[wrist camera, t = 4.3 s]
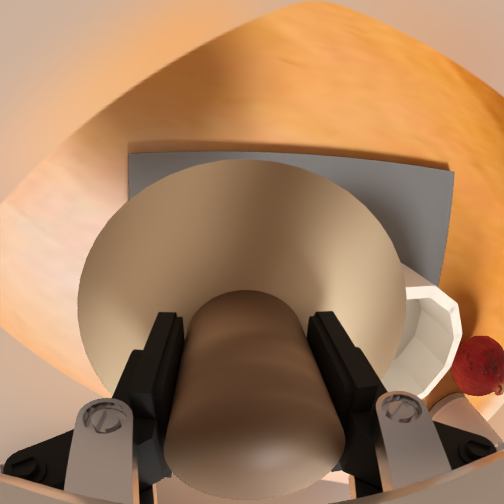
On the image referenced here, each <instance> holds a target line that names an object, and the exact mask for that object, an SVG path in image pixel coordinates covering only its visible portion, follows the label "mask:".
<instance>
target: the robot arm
mask: <svg viewBox="0 0 504 504" xmlns="http://www.w3.org/2000/svg"><path fill="white" fill-rule="evenodd" d="M307 340H308V343H309V345H310V348H311V350H312V353H313V355H314V358H315V360H316V363H317V365H318V368H319V370H320V372H321V375H322V377H323V380H324V382H325V385H326V387H327V390H328V393H329V395H330V398H331V400H332V403H333V405H334V408H335V410H336V413H337V415H338V418H339V420H340V423H341V425H342V428H343V431H344V434H345V448H344V452H343V454H342V456H341V458H340V460H339V461H338V463H337V464H336V465H335V467H334V468H333V469H332V470H331V472H334V471H340V470H342V471H344V472H346V473H348V474H349V487H350V498H351V500H347V501H341V502H337V503H331V504H504V444H503V443H497V444H496V446H494V444H493V443H492V442H491V441H490V440H489V439H487V438H486V437H483V436H481V435H478V434H475V433H471V432H468V431H465V430H462V429H458V428H455V427H452V426H449V425H446V424H443V423H440V422H437V421H434V420H432V418H431V416H430V413H429V411H428V409H427V406H426V405H425V403H424V402H423V400H421V399H420V398H419V397H418V396H416V395H414V394H412V393H409V392H405V391H391V392H388V391H387V390H386V388H385V387H384V385H383V383H382V382H381V380H380V379H379V377H378V375H377V374H376V372H375V371H374V369H373V367H372V366H371V364H370V363H369V361H368V359H367V358H366V356H365V355H364V353H363V351H362V350H361V349H360V348H359V347H355V345H354V344H353V342H352V340H351V339H350V337H349V336H348V334H347V332H346V331H345V329H344V328H343V326H342V324H341V323H340V321H339V320H338V318H337V317H336V315H335V313H334V312H333V311H318V312H315V314H314V316H310V317H309V321H308V329H307ZM184 342H185V338H184V325H183V317H177V314H176V312H159V313H158V315H157V317H156V319H155V322H154V324H153V327H152V329H151V332H150V334H149V336H148V339H147V341H146V344H145V346H144V349H143V350H138V349H134V350H133V351H132V352H131V354H130V356H129V359H128V361H127V363H126V366H125V368H124V370H123V373H122V375H121V377H120V380H119V382H118V384H117V387H116V389H115V391H114V394H113V396H112V398H102V399H97V400H94V401H91V402H89V403H87V404H86V405H84V406H83V407H82V408H81V409H80V411H79V413H78V415H77V419H76V423H75V428H74V429H73V430H71V431H68V432H66V433H64V434H61V435H59V436H56V437H54V438H51V439H49V440H46V441H44V442H41V443H38V444H36V445H33V446H31V447H28V448H25V449H23V450H20V451H18V452H16V453H14V454H12V455H11V456H10V457H9V458H8V459H7V461H6V463H5V464H2V463H1V462H0V504H157V494H156V485H155V483H156V482H158V481H160V480H161V479H163V478H164V477H171V473H172V471H171V470H170V468H169V467H168V465H167V463H166V460H165V456H164V444H165V438H166V433H167V427H168V422H169V417H170V411H171V406H172V401H173V396H174V391H175V386H176V381H177V376H178V371H179V366H180V361H181V356H182V352H183V347H184Z"/></svg>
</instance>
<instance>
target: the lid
mask: <svg viewBox="0 0 504 504" xmlns="http://www.w3.org/2000/svg"><path fill="white" fill-rule="evenodd" d="M406 300H407V297H406V287H405V278H404V274H403V271H402V267H401V263H400V259H399V257H398V255H397V252H396V250H395V248H394V245H393V243H392V241H391V239H390V238H389V236H388V235H387V233H386V231H385V230H384V228H383V227H382V225H381V224H380V222H379V221H378V220H377V219H376V218H375V216H374V215H373V214H372V213H371V212H370V211H369V210H368V208H367V207H366V206H365V205H364V204H362V203H361V202H360V201H359V200H358V199H356V198H355V197H354V196H353V195H352V194H350V193H349V192H348V191H347V190H345V189H343V188H342V187H340V186H338V185H337V184H335V183H333V182H332V181H330V180H328V179H327V178H325V177H322V176H320V175H317V174H315V173H313V172H310V171H308V170H305V169H303V168H299V167H295V166H291V165H287V164H283V163H279V162H273V161H264V160H253V159H236V160H221V161H216V162H211V163H206V164H201V165H196V166H193V167H190V168H187V169H184V170H182V171H179V172H176V173H173V174H171V175H168V176H166V177H165V178H163V179H161V180H159V181H157V182H155V183H153V184H151V185H150V186H148V187H146V188H145V189H143V190H142V191H141V192H139V193H138V194H137V195H135V196H134V197H133V198H131V199H130V200H129V201H127V202H126V203H125V204H124V205H123V206H122V207H121V208H120V209H119V210H118V211H117V212H116V213H115V214H114V215H113V216H112V218H111V219H110V220H109V221H108V222H107V224H106V225H105V227H104V228H103V229H102V231H101V232H100V234H99V235H98V237H97V238H96V240H95V242H94V244H93V246H92V248H91V250H90V252H89V254H88V256H87V258H86V262H85V265H84V268H83V271H82V275H81V278H80V284H79V291H78V322H79V328H80V334H81V339H82V342H83V345H84V348H85V351H86V354H87V357H88V359H89V361H90V363H91V365H92V367H93V369H94V371H95V373H96V374H97V376H98V378H99V379H100V381H101V382H102V384H103V385H104V387H105V388H106V389H107V390H108V391H109V393H110V394H111V395H112V396H113V394H114V391H115V389H116V387H117V384H118V382H119V380H120V377H121V375H122V373H123V370H124V368H125V366H126V363H127V361H128V359H129V356H130V354H131V352H132V351H133V350H134V349H138V350H143V349H144V346H145V344H146V341H147V339H148V336H149V334H150V332H151V329H152V327H153V324H154V322H155V319H156V317H157V315H158V313H159V312H176V314H177V317H183V325H184V338H185V342H184V347H183V352H182V356H181V361H180V366H179V371H178V376H177V381H176V386H175V391H174V396H173V401H172V406H171V411H170V417H169V422H168V427H167V433H166V438H165V444H164V456H165V460H166V463H167V465H168V467H169V468H170V470H171V471H172V472H173V473H174V475H176V477H178V478H179V479H180V480H181V481H182V482H184V483H185V484H187V485H188V486H190V487H192V488H194V489H196V490H198V491H200V492H203V493H205V494H209V495H212V496H216V497H220V498H226V499H233V500H262V499H270V498H275V497H280V496H284V495H287V494H291V493H294V492H297V491H299V490H302V489H304V488H306V487H308V486H310V485H312V484H313V483H315V482H317V481H318V480H320V479H321V478H323V477H324V476H325V475H326V474H328V473H329V472H330V471H331V470H332V469H333V468H334V467H335V465H336V464H337V463H338V461H339V460H340V458H341V456H342V454H343V452H344V448H345V434H344V431H343V428H342V425H341V423H340V420H339V418H338V415H337V413H336V410H335V408H334V405H333V403H332V400H331V398H330V395H329V393H328V390H327V387H326V385H325V382H324V380H323V377H322V375H321V372H320V370H319V368H318V365H317V363H316V360H315V358H314V355H313V353H312V350H311V348H310V345H309V343H308V340H307V329H308V321H309V317H310V316H314V314H315V312H318V311H333V312H334V313H335V315H336V317H337V318H338V320H339V321H340V323H341V324H342V326H343V328H344V329H345V331H346V332H347V334H348V336H349V337H350V339H351V340H352V342H353V344H354V345H355V347H359V348H360V349H361V350H362V351H363V353H364V355H365V356H366V358H367V359H368V361H369V363H370V364H371V366H372V367H373V369H374V371H375V372H376V374H377V375H378V377H379V379H380V380H382V378H383V377H384V375H385V373H386V372H387V370H388V369H389V367H390V365H391V363H392V361H393V359H394V357H395V354H396V352H397V350H398V347H399V344H400V341H401V337H402V334H403V329H404V324H405V318H406Z"/></svg>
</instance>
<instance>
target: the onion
mask: <svg viewBox="0 0 504 504" xmlns="http://www.w3.org/2000/svg"><path fill="white" fill-rule="evenodd" d="M452 377H453V379H454V381H455V383H456V385H457V386H458V388H459V389H460V390H461V391H462V392H463V393H465V394H468V395H472V396H483V395H487V394H490V393H492V392H495V394H496V395H501V394H503V392H504V350H503V348H502V347H501V345H500V344H499V343H498V342H496V341H495V340H494V339H492V338H490V337H488V336H474V337H472V338H469V339H468V340H466V341H464V342H463V343H462V344H461V345H460V346H459V347H458V349H457V352H456V354H455V357H454V360H453V363H452Z"/></svg>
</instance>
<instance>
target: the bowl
mask: <svg viewBox="0 0 504 504" xmlns="http://www.w3.org/2000/svg"><path fill="white" fill-rule="evenodd" d="M400 263H401V262H400ZM401 267H402V271H403V274H404V278H405V287H406V297H407V300H406V318H405V324H404V329H403V334H402V337H401V341H400V344H399V347H398V350H397V352H396V354H395V357H394V359H393V361H392V363H391V365H390V367H389V369H388V370H387V372H386V373H385V375H384V377H383V378H382V380H381V382H382V383H383V385H384V387H385V388H386V390H387V391H388V392H391V391H405V392H409V393H412V394H414V395H416V396H418V397H419V398H420V399H423V398H424V397H426V396H427V395H428V394H429V393H430V392H431V391H432V389H433V388H434V387H435V386H436V385H437V383H438V382H439V381H440V380H441V379H442V377H443V376H444V375H445V374H446V372H447V371H448V370H449V369H450V367H451V365H452V363H453V360H454V357H455V354H456V352H457V349H458V346H459V343H460V340H461V337H462V327H461V320H460V314H459V308H458V304H457V303H456V302H455V301H454V300H453V299H451V298H450V297H449V296H448V295H446V294H445V293H444V292H443V291H441V290H440V289H439V288H438V287H436V286H435V285H434V284H432V283H431V282H429V281H428V280H426V279H425V278H423V277H422V276H421V275H419V274H418V273H416V272H415V271H413V270H412V269H410V268H409V267H407V266H406V265H404V264H403V263H401Z"/></svg>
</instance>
